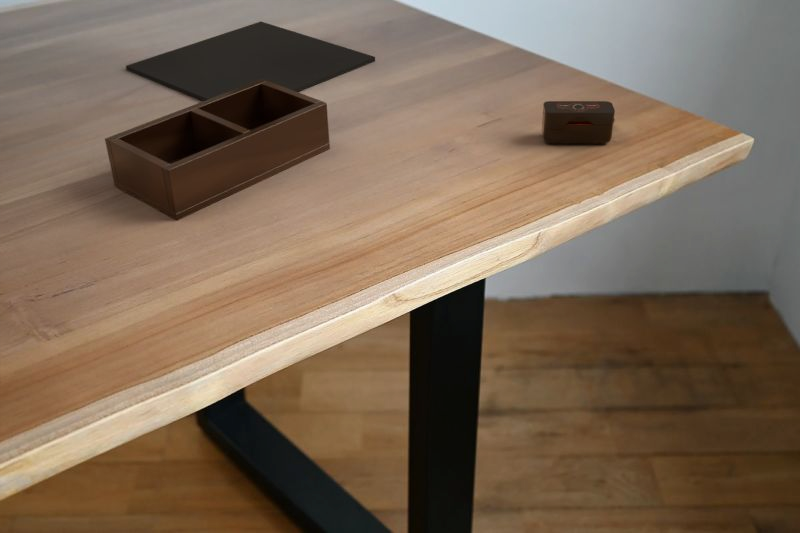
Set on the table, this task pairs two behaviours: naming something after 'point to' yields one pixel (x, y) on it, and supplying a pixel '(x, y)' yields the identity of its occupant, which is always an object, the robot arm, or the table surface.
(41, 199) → the table surface
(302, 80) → the mat
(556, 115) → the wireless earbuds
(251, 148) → the organizer
